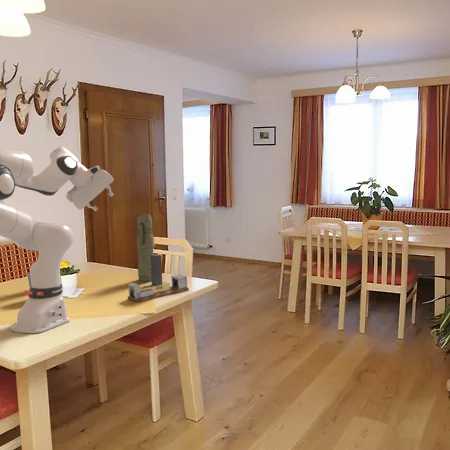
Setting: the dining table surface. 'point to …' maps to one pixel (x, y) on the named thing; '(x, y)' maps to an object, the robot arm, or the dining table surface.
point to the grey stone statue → (145, 246)
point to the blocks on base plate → (156, 277)
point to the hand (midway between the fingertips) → (104, 202)
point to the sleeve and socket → (176, 281)
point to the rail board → (160, 294)
